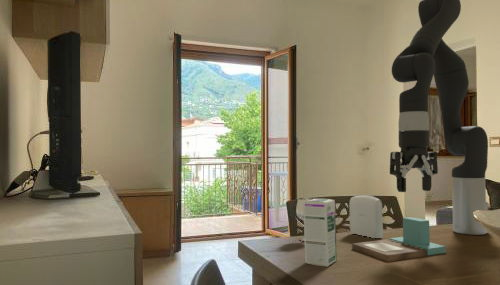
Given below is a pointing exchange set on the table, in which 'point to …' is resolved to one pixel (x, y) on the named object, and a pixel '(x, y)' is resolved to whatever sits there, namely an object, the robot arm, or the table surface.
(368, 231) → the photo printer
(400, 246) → the board
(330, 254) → the syrup box
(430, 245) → the stub
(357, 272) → the table surface
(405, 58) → the robot arm
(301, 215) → the wineglass
